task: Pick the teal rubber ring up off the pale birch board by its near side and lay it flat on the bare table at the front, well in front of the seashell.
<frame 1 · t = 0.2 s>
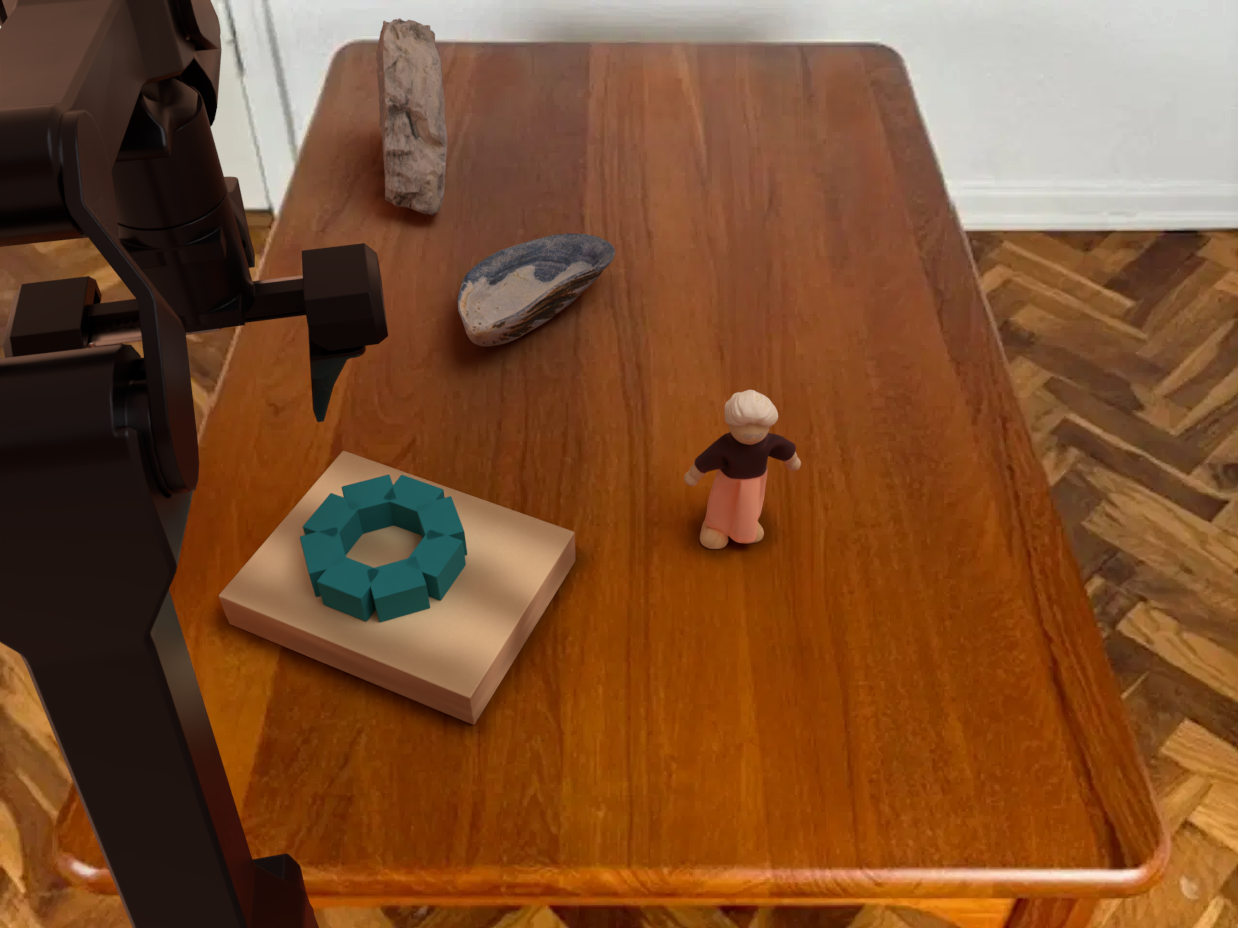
hand: (239, 428, 69), 14 cm above the table, tool pointing down, fingers open, 9 cm apart
decorative rock: (418, 182, 112), on the table
grandmother figurine: (737, 532, 82), on the table
board: (406, 591, 79), on the table
seashell: (539, 318, 98), on the table
ring: (387, 557, 77), point 3 cm above the table, touching board
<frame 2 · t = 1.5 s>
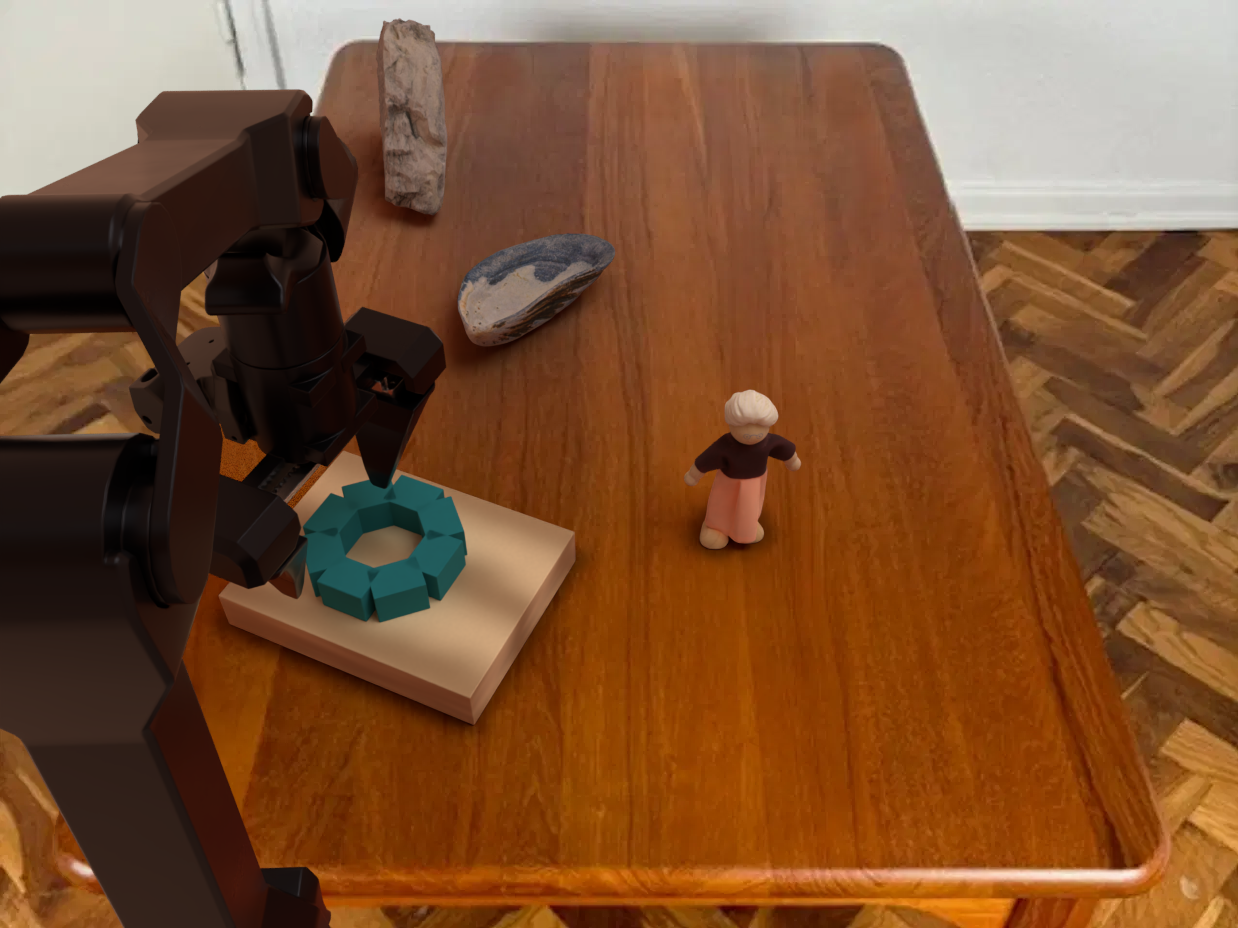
hand: (337, 537, 70), 9 cm above the table, tool pointing down, fingers open, 9 cm apart
nothing on the table moved.
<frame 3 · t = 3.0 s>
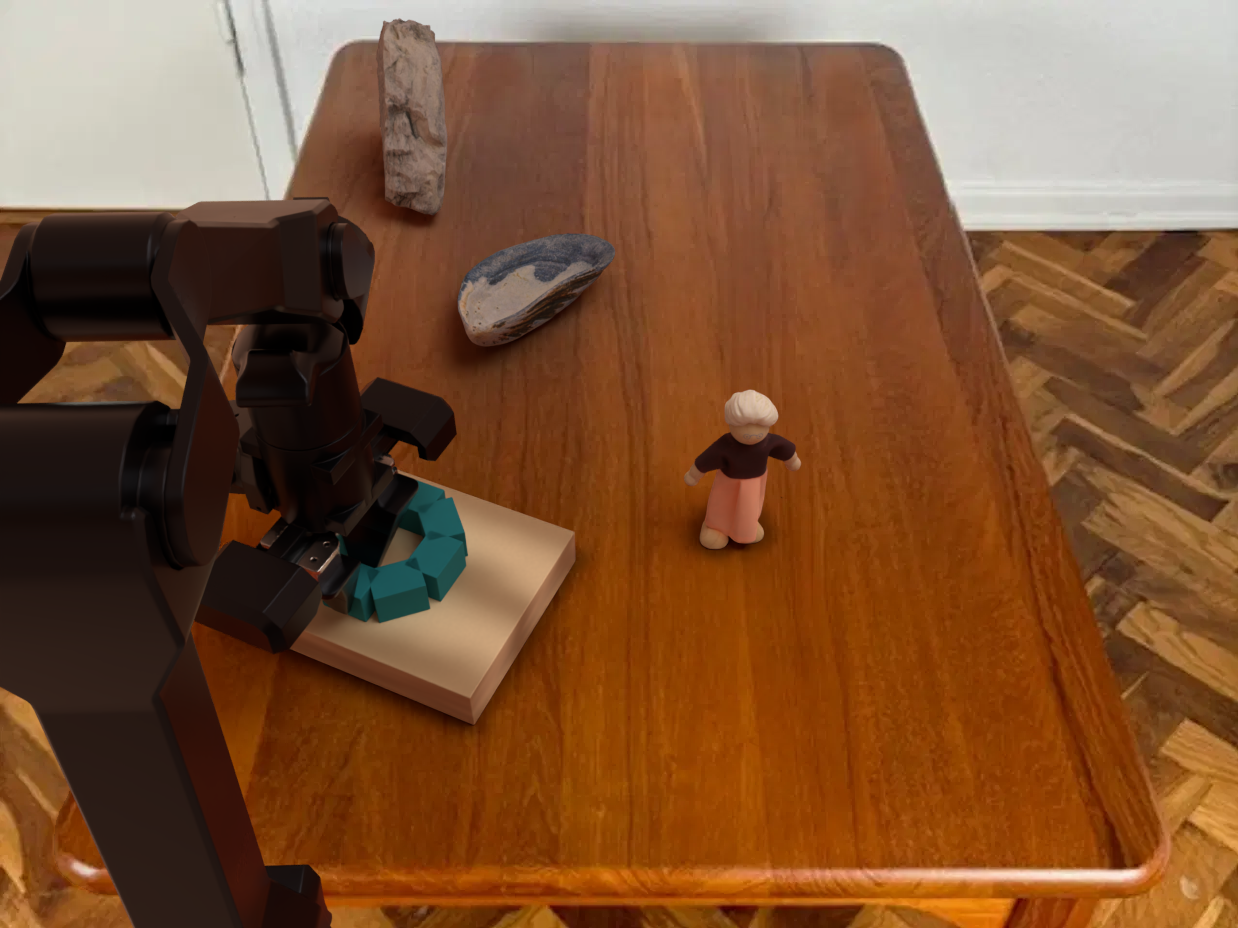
hand: (354, 594, 74), 4 cm above the table, tool pointing down, fingers closed on ring, 2 cm apart
ring: (387, 558, 77), point 3 cm above the table, touching board, gripper
everything else where it was.
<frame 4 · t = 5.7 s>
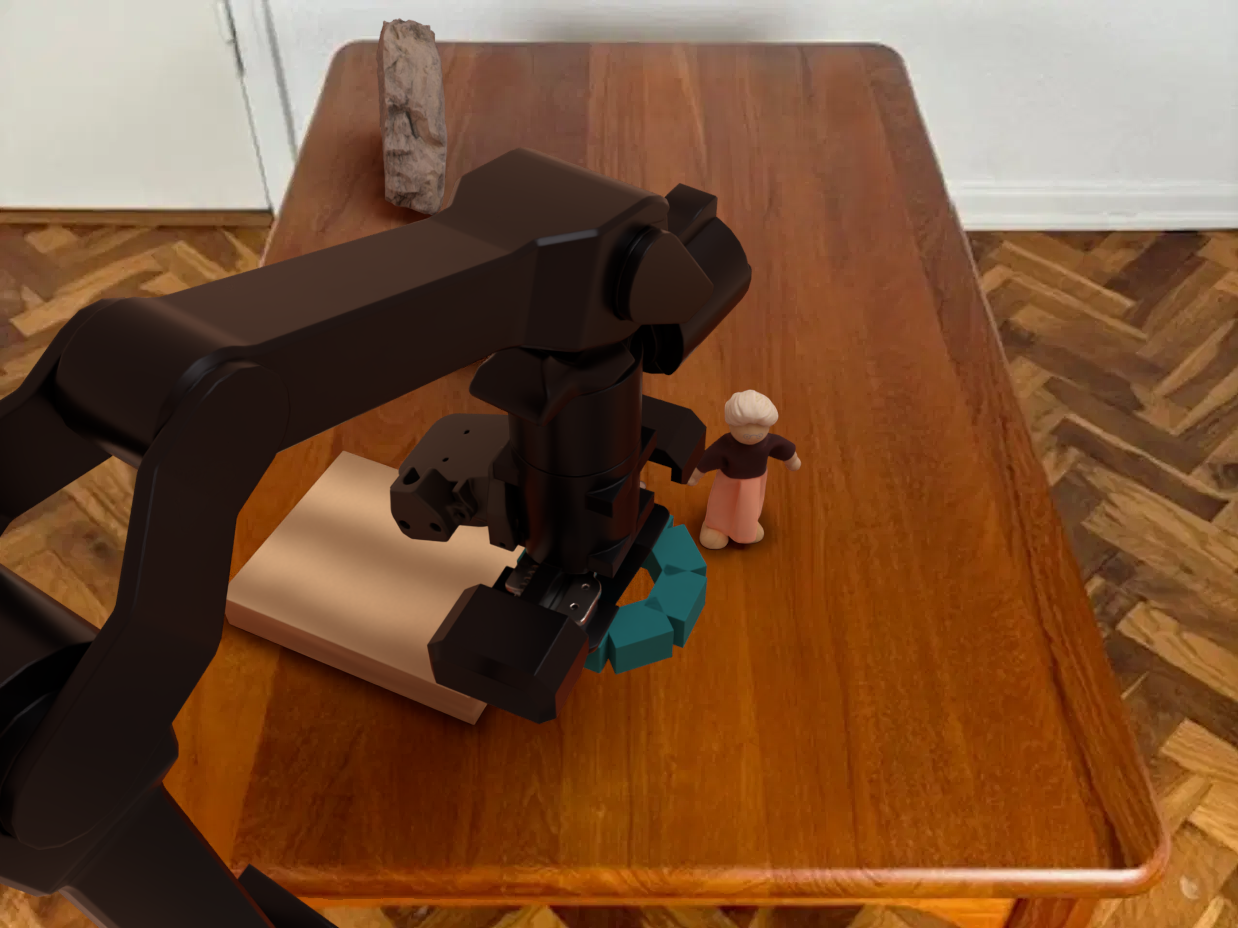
hand: (581, 640, 63), 11 cm above the table, tool pointing down, fingers closed on ring, 2 cm apart
ring: (611, 596, 66), point 10 cm above the table, touching gripper
everything else where it was.
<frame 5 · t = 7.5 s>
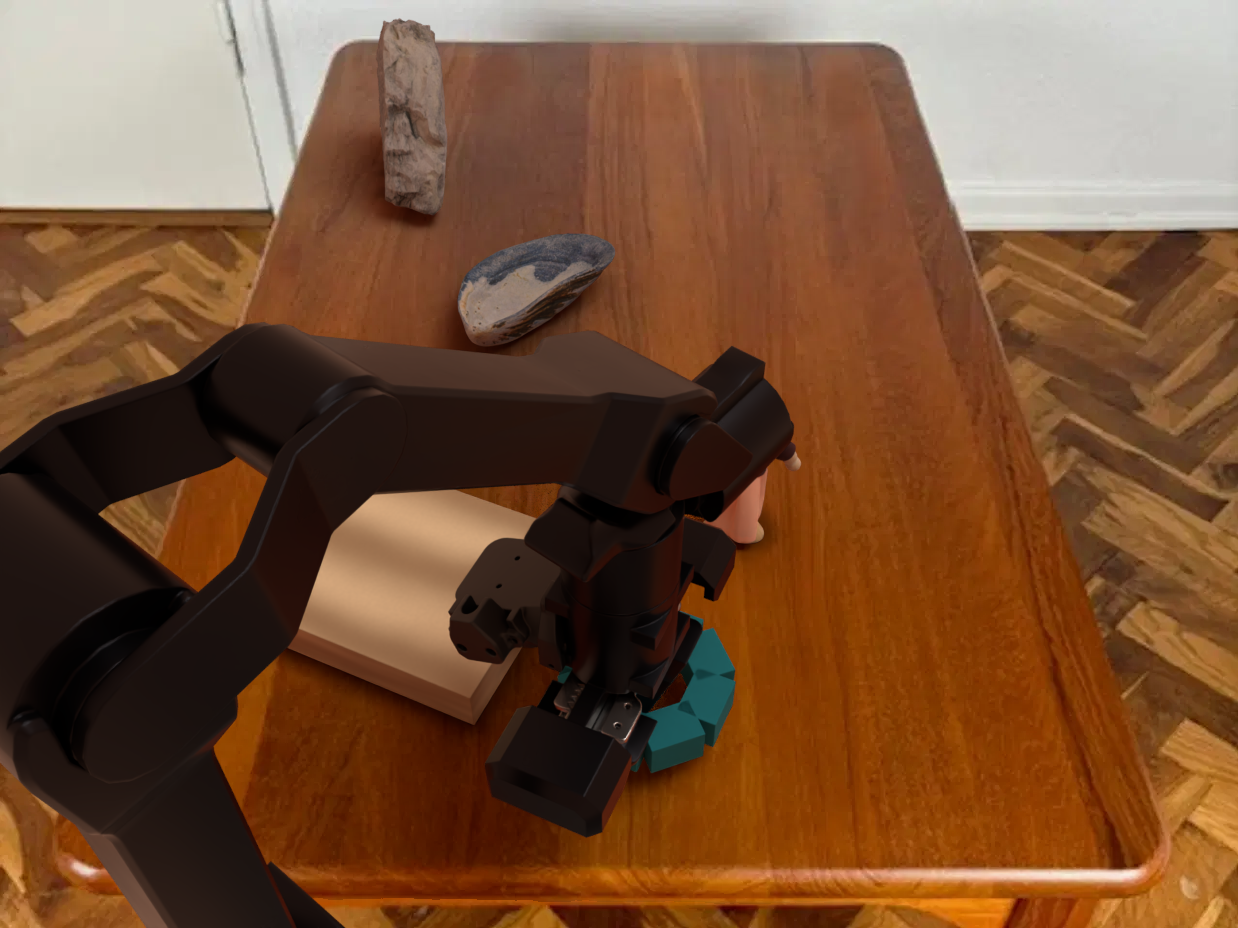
hand: (619, 740, 68), 3 cm above the table, tool pointing down, fingers closed on ring, 2 cm apart
ring: (645, 695, 71), point 2 cm above the table, touching gripper
everything else where it was.
when the fingers open (0 cm above the table, at t = 8.4 s): ring stays where it is, on the table.
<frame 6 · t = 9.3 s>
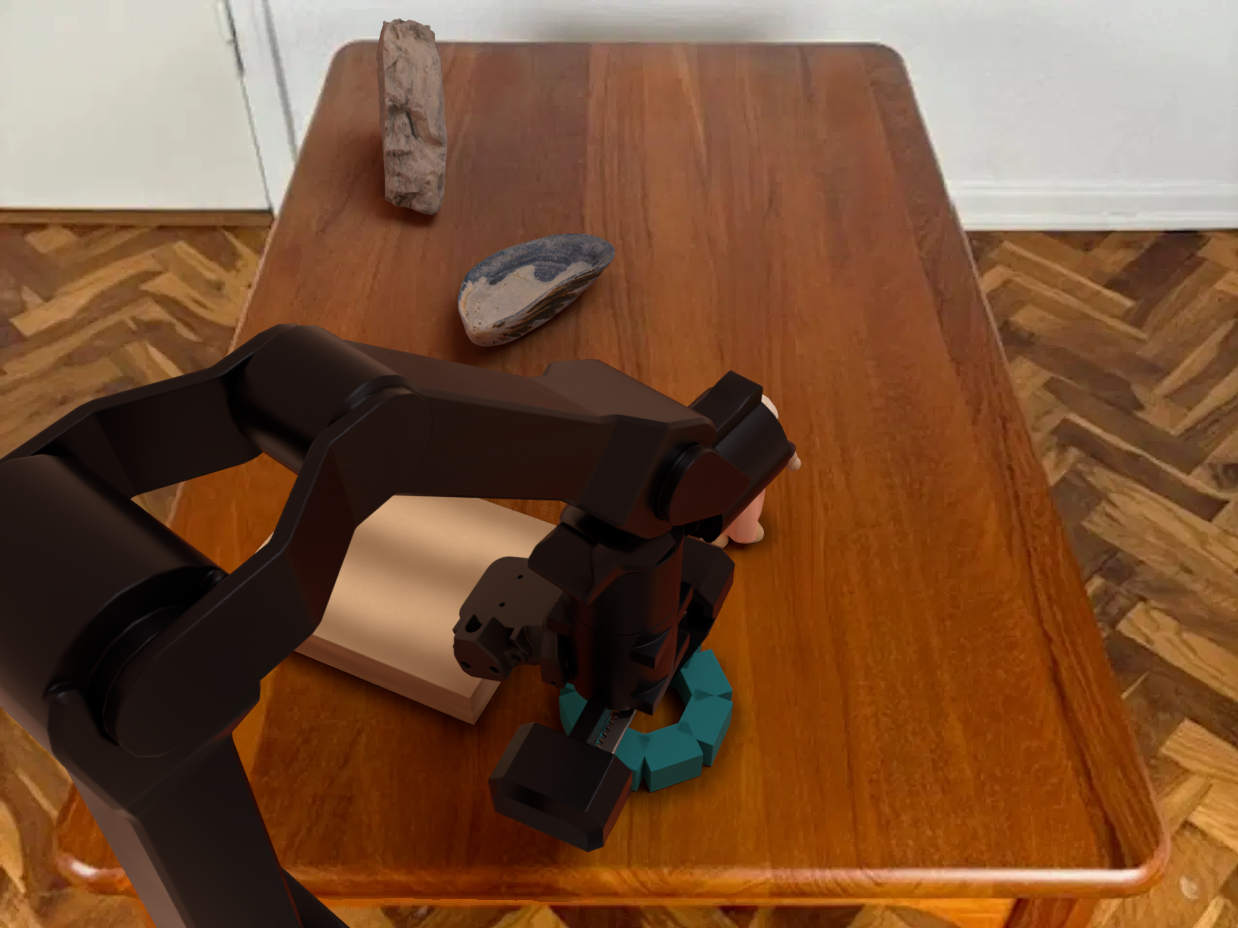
hand: (620, 754, 69), 1 cm above the table, tool pointing down, fingers open, 9 cm apart
ring: (645, 714, 72), on the table
everything else where it was.
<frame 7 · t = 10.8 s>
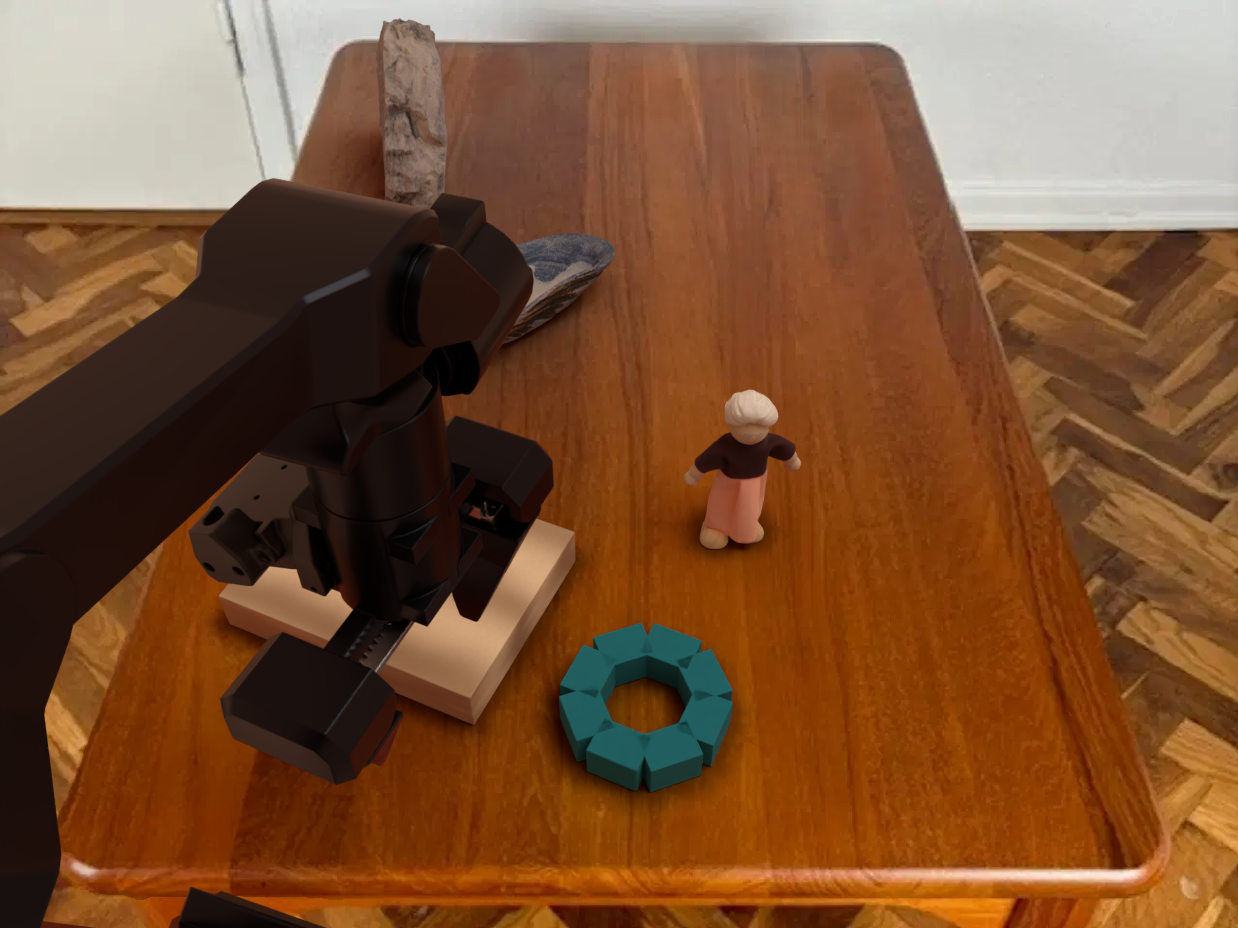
hand: (424, 684, 59), 12 cm above the table, tool pointing down, fingers open, 9 cm apart
nothing on the table moved.
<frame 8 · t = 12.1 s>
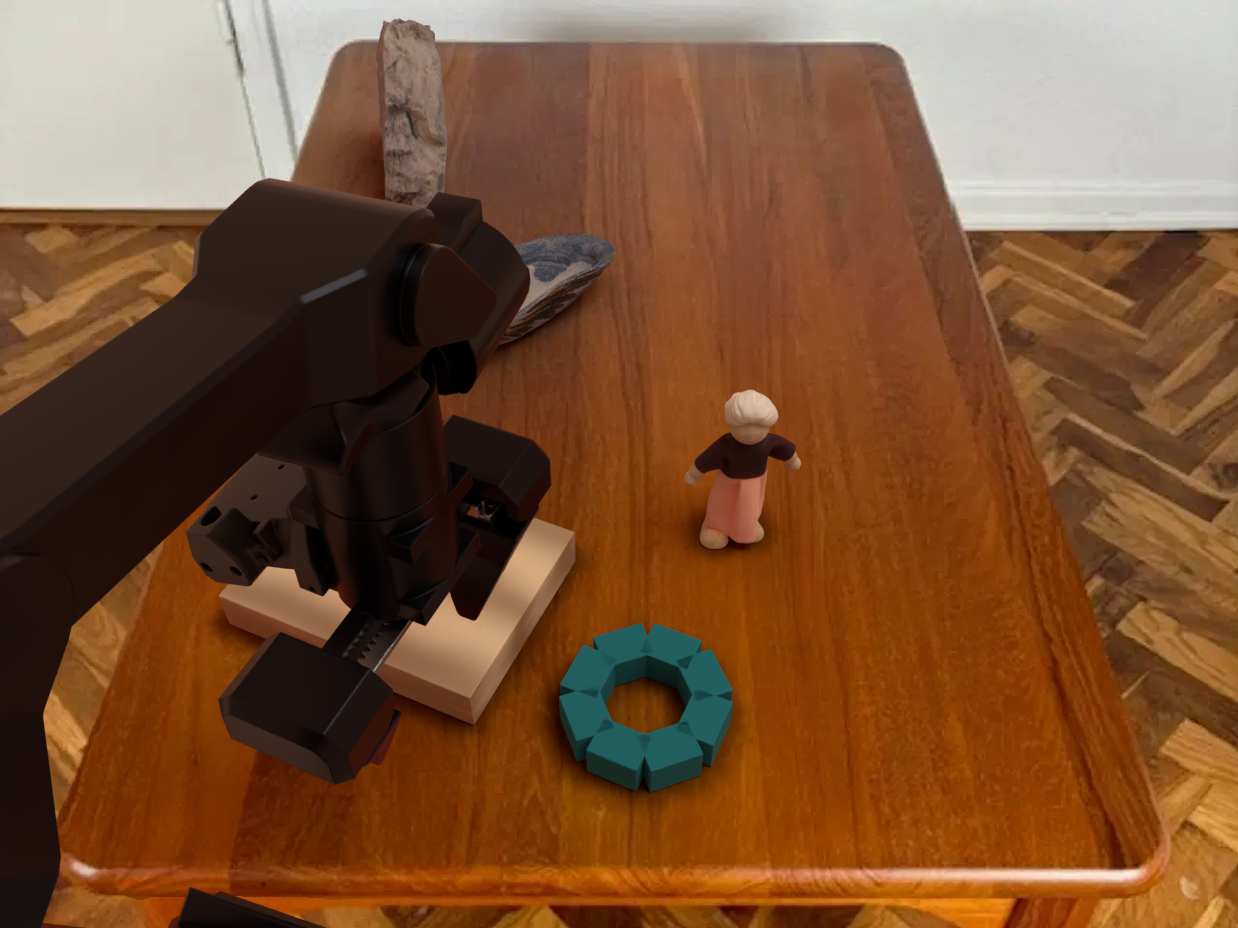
hand: (422, 684, 59), 12 cm above the table, tool pointing down, fingers open, 9 cm apart
nothing on the table moved.
at the end: ring tilted 0°; ring touching table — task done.
